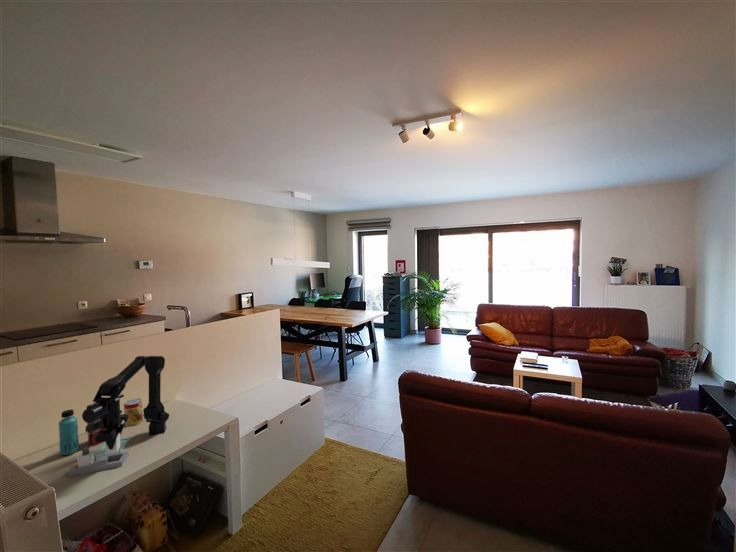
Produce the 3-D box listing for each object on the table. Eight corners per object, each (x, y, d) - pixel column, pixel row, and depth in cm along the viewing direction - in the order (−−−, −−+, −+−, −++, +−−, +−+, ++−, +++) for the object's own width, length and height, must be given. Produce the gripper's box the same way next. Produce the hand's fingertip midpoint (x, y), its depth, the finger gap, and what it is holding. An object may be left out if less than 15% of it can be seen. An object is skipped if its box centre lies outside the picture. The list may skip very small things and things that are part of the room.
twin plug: (94, 463, 137) (93, 444, 137) (90, 469, 134) (89, 449, 133) (82, 465, 136) (81, 446, 136) (78, 471, 132) (77, 451, 132)
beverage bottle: (62, 460, 141) (60, 415, 140) (57, 455, 144) (55, 412, 144) (81, 452, 146) (79, 409, 146) (76, 448, 150) (74, 406, 149)
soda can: (96, 447, 151) (95, 422, 150) (84, 445, 152) (82, 421, 151) (111, 439, 158) (110, 415, 157) (99, 437, 159) (98, 413, 159)
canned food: (145, 422, 174) (144, 400, 174) (127, 428, 168) (126, 405, 167) (139, 418, 179) (138, 397, 178) (122, 423, 172) (121, 402, 172)
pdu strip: (128, 456, 143) (128, 450, 143) (122, 467, 136) (121, 460, 136) (78, 465, 137) (78, 458, 137) (68, 477, 130) (68, 470, 129)
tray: (105, 443, 154) (105, 440, 154) (130, 439, 157) (130, 436, 157) (93, 458, 142) (93, 456, 142) (120, 454, 145) (120, 451, 145)
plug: (120, 446, 140) (119, 427, 140) (116, 451, 137) (116, 432, 136) (109, 448, 139) (108, 429, 139) (105, 453, 135) (104, 434, 135)
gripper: (98, 405, 143) (99, 439, 144) (77, 425, 126) (79, 463, 126) (128, 401, 147) (129, 434, 148) (111, 420, 129) (113, 457, 130)
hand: (113, 446), depth 138 cm, fingers closed on plug, 4 cm apart
